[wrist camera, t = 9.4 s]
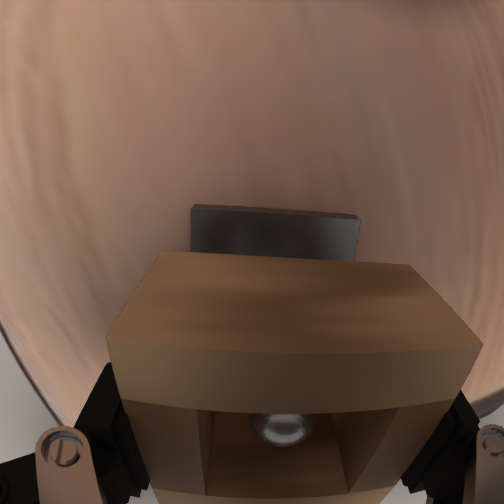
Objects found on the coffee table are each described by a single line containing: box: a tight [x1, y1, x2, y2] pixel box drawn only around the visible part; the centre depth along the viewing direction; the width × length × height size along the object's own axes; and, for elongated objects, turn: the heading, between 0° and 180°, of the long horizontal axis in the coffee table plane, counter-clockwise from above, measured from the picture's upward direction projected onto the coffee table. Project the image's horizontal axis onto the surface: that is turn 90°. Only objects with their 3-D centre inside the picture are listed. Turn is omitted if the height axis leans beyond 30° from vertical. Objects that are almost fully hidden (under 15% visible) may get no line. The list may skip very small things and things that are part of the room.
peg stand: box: [191, 204, 361, 447], centre depth 11 cm, size 7×7×9 cm
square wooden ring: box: [106, 250, 483, 504], centre depth 8 cm, size 7×7×4 cm
